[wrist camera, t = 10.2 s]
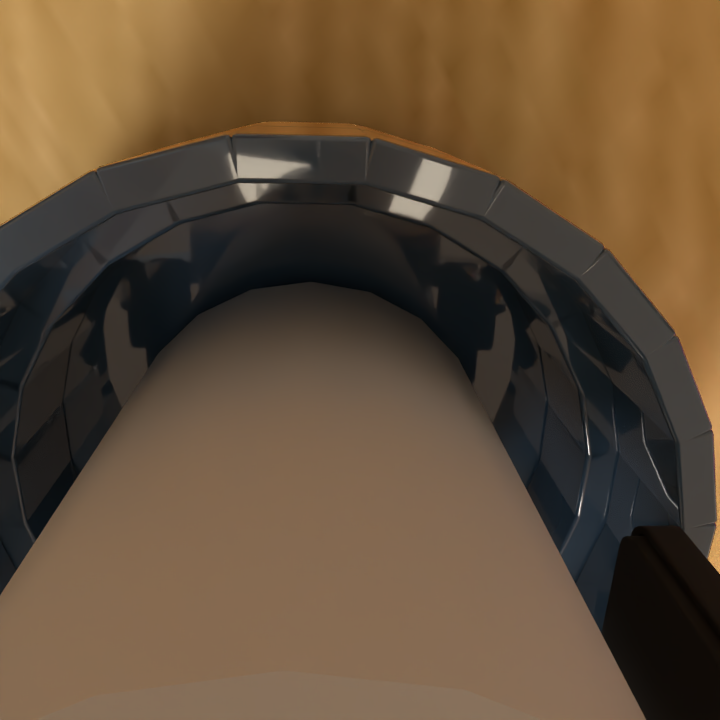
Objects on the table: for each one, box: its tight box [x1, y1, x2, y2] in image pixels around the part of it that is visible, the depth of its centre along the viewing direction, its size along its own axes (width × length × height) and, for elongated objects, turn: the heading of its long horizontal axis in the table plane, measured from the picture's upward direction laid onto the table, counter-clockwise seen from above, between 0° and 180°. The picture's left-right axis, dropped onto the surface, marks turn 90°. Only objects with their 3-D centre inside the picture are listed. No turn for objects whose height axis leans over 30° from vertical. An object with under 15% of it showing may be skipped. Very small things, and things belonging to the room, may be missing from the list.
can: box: [0, 282, 646, 720], centre depth 9 cm, size 8×8×12 cm
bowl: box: [0, 121, 717, 632], centre depth 13 cm, size 13×13×6 cm
